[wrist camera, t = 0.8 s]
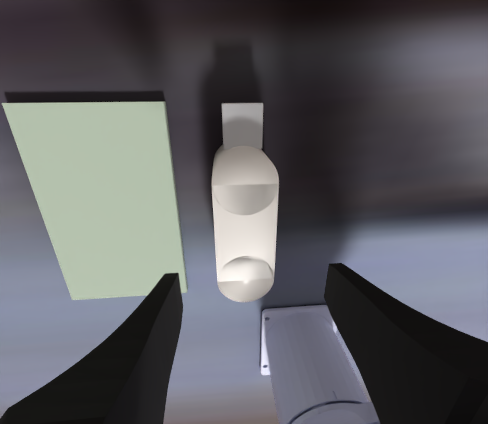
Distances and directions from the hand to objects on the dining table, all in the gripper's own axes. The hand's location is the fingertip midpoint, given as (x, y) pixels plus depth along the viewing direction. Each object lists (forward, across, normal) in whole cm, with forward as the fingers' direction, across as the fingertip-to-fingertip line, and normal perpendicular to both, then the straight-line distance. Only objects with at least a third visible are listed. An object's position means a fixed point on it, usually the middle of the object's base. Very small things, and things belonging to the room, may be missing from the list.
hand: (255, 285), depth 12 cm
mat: (+10, +10, 0) cm, 14 cm away
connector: (+10, 0, -1) cm, 10 cm away
